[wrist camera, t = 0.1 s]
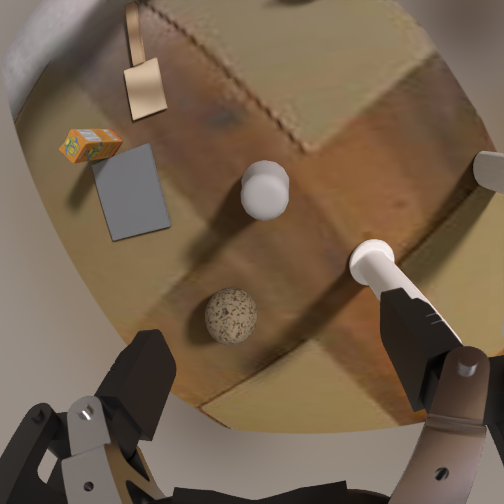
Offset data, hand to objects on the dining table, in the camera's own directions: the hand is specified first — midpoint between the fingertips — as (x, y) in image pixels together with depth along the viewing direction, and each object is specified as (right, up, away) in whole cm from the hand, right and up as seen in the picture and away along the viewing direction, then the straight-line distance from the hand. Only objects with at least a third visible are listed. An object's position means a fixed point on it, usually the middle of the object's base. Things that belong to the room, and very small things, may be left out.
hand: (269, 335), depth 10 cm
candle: (+17, +2, +30) cm, 34 cm away
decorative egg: (-3, -4, +33) cm, 34 cm away
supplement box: (-21, +18, +26) cm, 38 cm away
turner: (-16, +31, +21) cm, 41 cm away
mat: (-18, +11, +28) cm, 35 cm away
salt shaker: (+1, +12, +27) cm, 29 cm away
